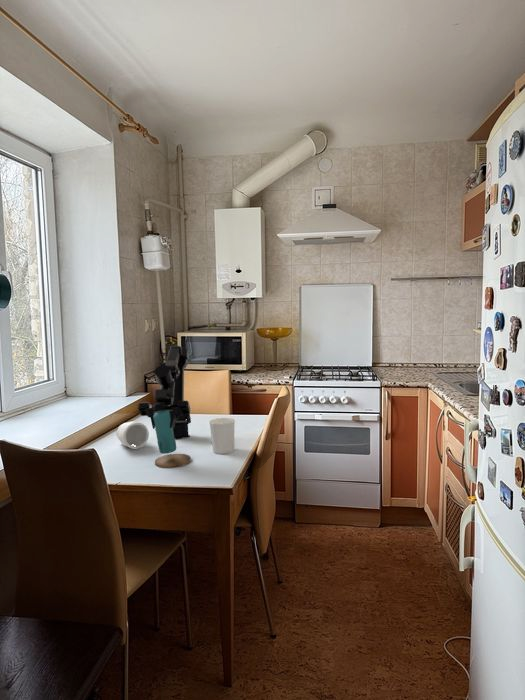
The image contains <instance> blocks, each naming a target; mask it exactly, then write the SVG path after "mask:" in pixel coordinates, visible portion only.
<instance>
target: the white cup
mask: <svg viewBox="0 0 525 700" xmlns="http://www.w3.org/2000/svg"><path fill="white" fill-rule="evenodd" d="M235 422H236V421H235V419H234V418H231V417H230V418H229V417H220V418H215V419H210V420H209V427H210V428H209V429H210V435H211V437H210V438H211V447H212V452H213V453H214V454H219V455H226V454H231V453H232V452H234V451H235Z"/></svg>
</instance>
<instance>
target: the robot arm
mask: <svg viewBox="0 0 525 700" xmlns="http://www.w3.org/2000/svg"><path fill="white" fill-rule="evenodd" d="M189 360H190V352H189V350H188V349H187V348H183V347H182V346H180V345H171V346H169V349H168V353H167V357H166V360H165V361H164V362H161V363H160V365H158V366H157V367H155V369H154V371H153V372H154V375H155V378H156V381H157V384H158V385H159V389H154V400H155V401H154V402H155V403H158V402H165V405H166V408H163V409H159V410H155V409H154V404H151V402H150V401H144V402H142V401H141V402H139V403H138V404H137V405H138V406H137V409H138V413H139V415H140V416H142V417H147V418H150V421H151V426H152V429H153V430H154V429H155V424H154V418H153V415H154V414H155V412H157V411H161V410H167V411H168V412H170V417H171V422H170V428H173V432H174V438H175V440H182V439H187V438H190V437H191V435H190V434H189V424H191V423H192V420H191V419H192V418H191V407H190V402H189V401H188V400H184V399H185V369H186V367H187V366H188V363H189Z"/></svg>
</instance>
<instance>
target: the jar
mask: <svg viewBox="0 0 525 700" xmlns="http://www.w3.org/2000/svg"><path fill="white" fill-rule="evenodd" d="M149 436H150V432H149V429H148V427H147V426H146V425H145V424H144V423H142V422H138V421H128V422H123V423H122V424H121V423H120V425H119V426H118V428H117V431H116V437H117V440H119V442H120V443H121V444H122V445H123V446H125V447H128V448H129V449H134V450H136V449H141V448H142V447H144V446H145V445H146V443H147V442H148V440H149V438H150V437H149ZM132 444H134V445H136V447H134V446H131V445H132Z"/></svg>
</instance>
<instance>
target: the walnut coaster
mask: <svg viewBox="0 0 525 700" xmlns="http://www.w3.org/2000/svg"><path fill="white" fill-rule="evenodd" d="M191 461H192V460H191V456H190V455H188V454H186V453H167V454H163V455H161V456H158V457H157V458H155V459H154V466H156V467H158V468H162V469H171V468H172V469H173V468H180V467H182V466H186V465H188V464H189V463H191Z"/></svg>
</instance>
